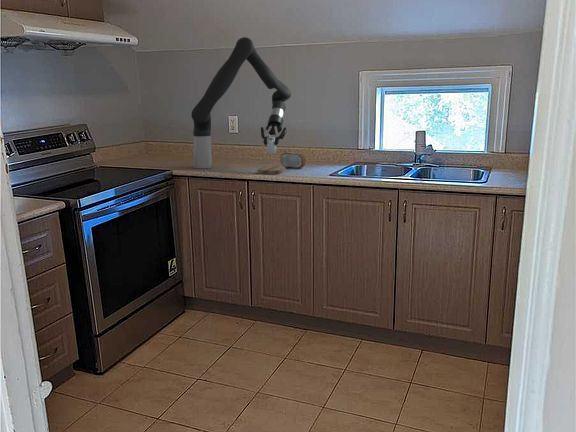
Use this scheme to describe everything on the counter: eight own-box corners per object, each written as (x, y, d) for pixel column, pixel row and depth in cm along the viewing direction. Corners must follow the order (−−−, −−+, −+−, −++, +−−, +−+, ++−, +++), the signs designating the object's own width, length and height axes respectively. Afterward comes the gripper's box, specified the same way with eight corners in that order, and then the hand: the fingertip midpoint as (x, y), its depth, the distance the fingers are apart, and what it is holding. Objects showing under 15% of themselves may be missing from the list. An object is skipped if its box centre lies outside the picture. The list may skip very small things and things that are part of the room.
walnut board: (257, 173, 272) (257, 169, 271) (265, 169, 285) (265, 165, 285) (278, 174, 269) (278, 170, 269) (285, 170, 282) (285, 166, 282)
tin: (305, 168, 289) (305, 152, 287) (302, 169, 286) (302, 153, 284) (282, 166, 297) (282, 151, 295) (279, 167, 294) (279, 151, 292)
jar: (265, 153, 273) (265, 137, 271) (268, 152, 278) (268, 136, 276) (274, 153, 272) (274, 137, 270) (277, 152, 277) (277, 136, 275)
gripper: (261, 113, 279) (255, 139, 271) (288, 113, 276) (282, 139, 267) (264, 123, 285) (258, 148, 277) (290, 123, 282) (285, 149, 273)
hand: (270, 144), depth 272 cm, fingers closed on jar, 4 cm apart
